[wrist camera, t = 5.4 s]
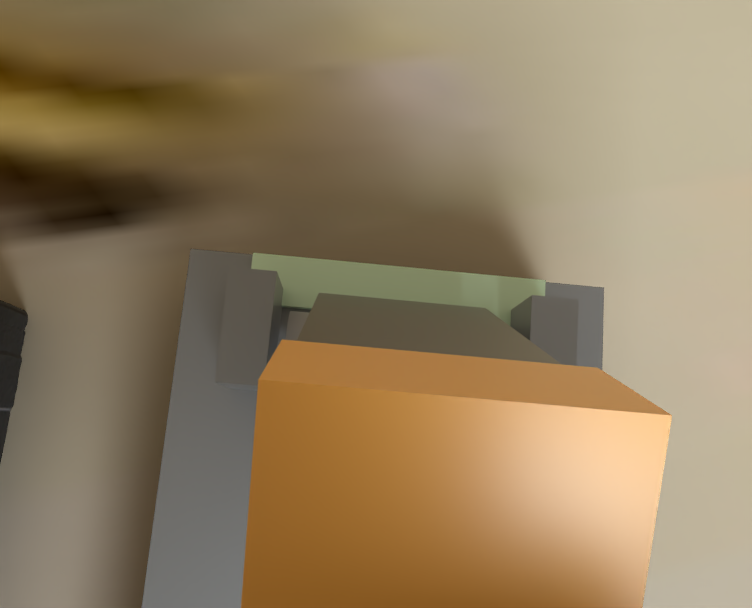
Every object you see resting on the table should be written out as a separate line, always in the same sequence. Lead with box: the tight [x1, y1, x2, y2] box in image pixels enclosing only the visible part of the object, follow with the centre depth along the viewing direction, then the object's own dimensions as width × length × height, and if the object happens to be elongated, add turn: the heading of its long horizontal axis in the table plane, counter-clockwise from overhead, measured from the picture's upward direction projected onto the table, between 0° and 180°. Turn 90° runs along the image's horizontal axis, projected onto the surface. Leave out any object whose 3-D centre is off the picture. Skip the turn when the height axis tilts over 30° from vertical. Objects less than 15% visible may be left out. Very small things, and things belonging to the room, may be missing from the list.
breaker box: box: [142, 249, 604, 608], centre depth 16 cm, size 14×10×6 cm
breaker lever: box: [241, 293, 672, 608], centre depth 11 cm, size 3×5×10 cm, turn 84°
